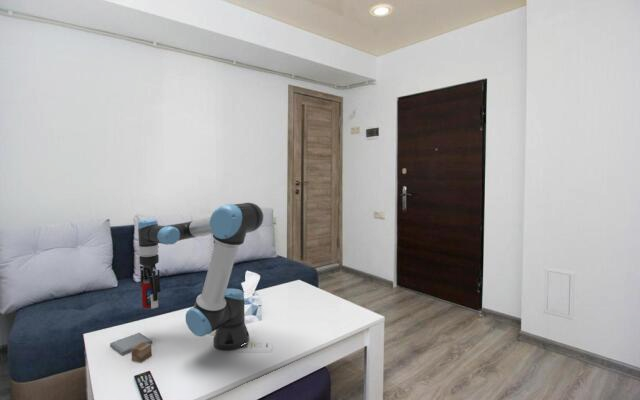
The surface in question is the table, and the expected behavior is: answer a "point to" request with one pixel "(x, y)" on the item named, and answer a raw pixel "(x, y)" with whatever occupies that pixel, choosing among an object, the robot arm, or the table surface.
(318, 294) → the table surface
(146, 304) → the beverage can
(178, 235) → the robot arm
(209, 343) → the table surface
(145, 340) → the coaster
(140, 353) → the walnut block
